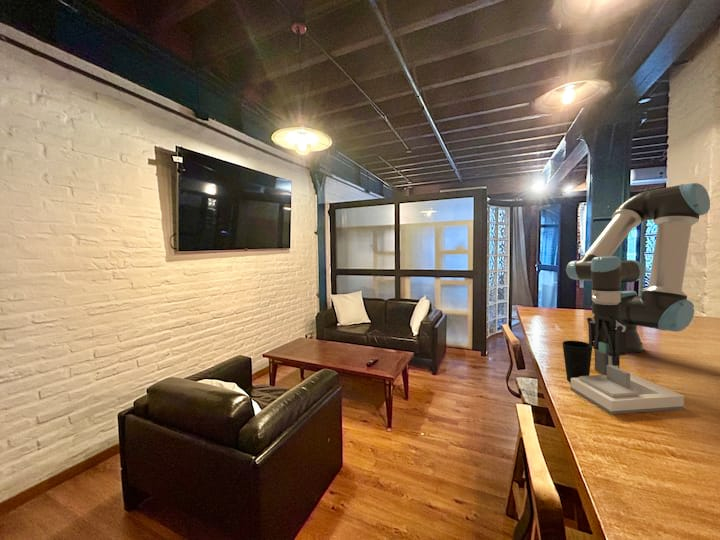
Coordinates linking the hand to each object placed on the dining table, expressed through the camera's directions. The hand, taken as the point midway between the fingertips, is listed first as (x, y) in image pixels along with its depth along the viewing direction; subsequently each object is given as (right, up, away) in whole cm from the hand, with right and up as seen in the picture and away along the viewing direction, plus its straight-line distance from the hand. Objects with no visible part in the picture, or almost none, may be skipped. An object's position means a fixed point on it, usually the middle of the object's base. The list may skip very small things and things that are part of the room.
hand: (606, 371), depth 99 cm
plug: (0, 0, 0) cm, 0 cm away
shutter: (-14, +2, -18) cm, 23 cm away
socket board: (-10, -2, -17) cm, 20 cm away
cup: (-14, -2, -5) cm, 15 cm away
